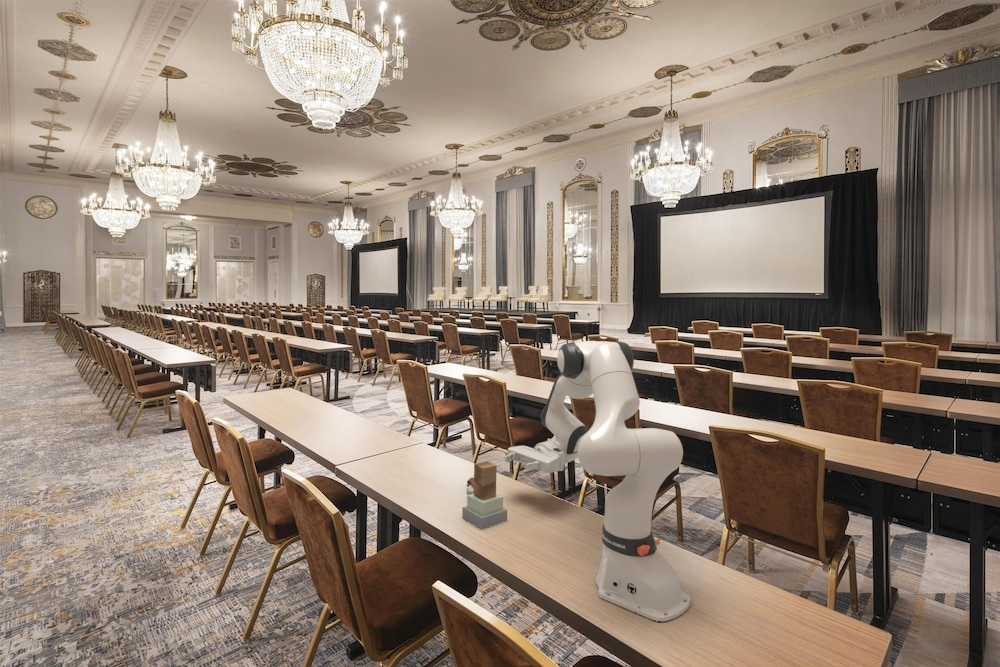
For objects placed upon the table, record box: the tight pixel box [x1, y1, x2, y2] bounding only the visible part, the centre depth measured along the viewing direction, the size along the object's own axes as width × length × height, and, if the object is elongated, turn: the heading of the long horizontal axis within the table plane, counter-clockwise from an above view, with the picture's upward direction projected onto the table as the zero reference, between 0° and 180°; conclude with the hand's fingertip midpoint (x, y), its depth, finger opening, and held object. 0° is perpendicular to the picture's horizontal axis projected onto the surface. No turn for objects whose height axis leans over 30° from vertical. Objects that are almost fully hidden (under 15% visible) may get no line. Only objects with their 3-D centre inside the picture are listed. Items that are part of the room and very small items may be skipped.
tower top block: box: [466, 493, 504, 516], centre depth 163 cm, size 8×8×4 cm
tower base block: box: [462, 505, 508, 530], centre depth 163 cm, size 10×10×4 cm
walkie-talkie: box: [466, 477, 474, 495], centre depth 183 cm, size 9×4×20 cm
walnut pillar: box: [473, 461, 498, 500], centre depth 162 cm, size 5×5×10 cm
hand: (515, 462), depth 169 cm, fingers open, 8 cm apart
